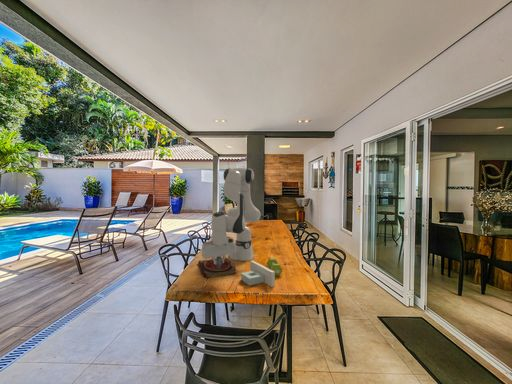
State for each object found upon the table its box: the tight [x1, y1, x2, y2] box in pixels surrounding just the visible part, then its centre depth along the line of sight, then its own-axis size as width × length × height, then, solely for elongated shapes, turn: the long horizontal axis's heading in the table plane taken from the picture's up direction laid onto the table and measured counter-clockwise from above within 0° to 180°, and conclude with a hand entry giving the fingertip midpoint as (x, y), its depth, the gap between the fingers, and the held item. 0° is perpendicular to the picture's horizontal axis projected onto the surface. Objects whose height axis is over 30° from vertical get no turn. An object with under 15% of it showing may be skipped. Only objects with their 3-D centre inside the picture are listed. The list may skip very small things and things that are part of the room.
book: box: [197, 257, 237, 279], centre depth 170 cm, size 28×21×5 cm
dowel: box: [216, 256, 223, 270], centre depth 148 cm, size 3×3×7 cm
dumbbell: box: [266, 257, 283, 277], centre depth 164 cm, size 16×8×7 cm, turn 6°
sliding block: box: [240, 270, 265, 286], centre depth 147 cm, size 10×10×4 cm
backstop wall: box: [249, 260, 276, 287], centre depth 150 cm, size 24×2×8 cm, turn 31°
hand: (218, 263), depth 148 cm, fingers closed on dowel, 3 cm apart
